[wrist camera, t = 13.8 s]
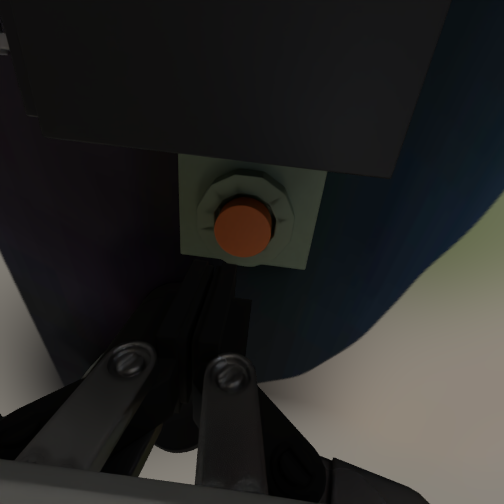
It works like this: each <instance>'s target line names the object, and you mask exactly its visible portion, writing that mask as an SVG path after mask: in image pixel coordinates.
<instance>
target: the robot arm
mask: <svg viewBox="0 0 504 504" xmlns="http://www.w3.org/2000/svg"><path fill="white" fill-rule="evenodd" d="M213 270H214V267H213V265H209V261H205V260H197V259H194V260H193V262H192V264H191V266H190V268H189V270H188V272H187V274H186V276H185V278H184V280H183V282H182V284H181V286H180V288H179V290H178V291H177V290H167V292H166V293H165V295H164V297H163V298H162V300H161V302H160V304H159V306H158V307H157V309H156V311H155V313H154V314H153V316H152V318H151V320H150V322H149V323H148V325H147V327H146V329H145V330H144V332H143V334H142V336H141V338H140V339H139V341H138V340H135V341H128V342H125V343H121V344H119V345H117V346H116V347H114V348H112V349H111V350H110V351H109V352H108V353H107V354H106V355H105V356H104V357H103V358H102V360H101V361H100V362H99V363H98V364H97V365H96V367H95V368H94V369H93V370H92V371H91V372H90V373H89V375H88V376H86V377H84V378H82V379H80V380H78V381H76V382H74V383H72V384H69V385H67V386H65V387H63V388H61V389H59V390H57V391H55V392H53V393H51V394H48V395H46V396H44V397H42V398H40V399H38V400H36V401H34V402H32V403H30V404H27V405H25V406H23V407H21V408H19V409H17V410H15V411H14V412H12V413H10V414H9V415H7V416H5V417H2V416H1V414H0V504H429V503H428V502H427V501H426V500H425V499H424V498H423V497H422V496H421V495H420V494H419V493H418V492H416V491H414V490H412V489H411V488H409V487H407V486H405V485H402V484H400V483H397V482H395V481H392V480H390V479H387V478H385V477H382V476H380V475H377V474H374V473H372V472H369V471H367V470H364V469H362V468H359V467H357V466H354V465H352V464H349V463H347V462H344V461H342V460H339V459H337V458H333V460H329V459H327V458H324V457H322V456H319V454H318V453H317V451H316V450H315V448H314V447H313V446H312V445H311V444H310V443H309V442H308V441H307V440H306V438H305V437H303V435H302V434H301V433H300V432H299V431H298V430H297V429H296V427H295V426H294V425H293V424H292V423H291V422H290V421H289V420H288V419H287V418H286V416H285V415H284V414H283V413H282V412H281V411H280V410H279V409H278V408H277V407H276V405H275V404H274V403H273V402H272V401H271V400H270V399H269V398H268V397H267V395H266V394H265V393H264V392H263V391H262V390H261V389H260V388H259V387H258V386H257V376H256V371H255V367H254V365H253V364H252V362H251V361H250V360H249V359H248V358H246V357H245V354H246V346H247V337H248V328H249V319H250V311H251V302H252V300H249V299H241V298H234V296H235V284H236V272H237V264H229V263H223V264H222V266H217V267H216V270H215V273H214V276H213ZM191 392H192V404H193V420H194V421H195V423H196V425H197V426H198V428H199V441H198V454H197V465H196V477H195V485H191V484H183V483H176V482H169V481H162V480H154V479H147V478H140V477H138V476H139V474H140V472H141V470H142V468H143V466H144V464H145V462H146V460H147V458H148V456H149V454H150V452H151V450H152V448H153V446H154V444H155V442H156V440H157V438H158V436H159V434H160V432H161V429H162V426H163V422H165V421H166V420H168V419H169V418H171V417H172V416H173V413H180V410H181V406H182V403H187V404H188V402H189V399H190V396H191Z"/></svg>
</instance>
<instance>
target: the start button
mask: <svg viewBox="0 0 504 504" xmlns="http://www.w3.org/2000/svg"><path fill="white" fill-rule="evenodd" d="M271 225H272V221H271V216H270V213H269V211H268V209H267V208H266V207H265V206H264V204H262V203H261V202H260V201H258V200H256V199H254V198H250V197H238V198H234V199H232V200H230V201H229V202H227V203H226V204H225V205H224V207H223V208H222V210H221V211H220V213H219V215H218V217H217V219H216V222H215V225H214V234H215V238H216V240H217V242H218V244H219V245H220V246H221V248H222V249H223V250H225V251H226V252H227V253H229V254H231V255H233V256H237V257H251V256H254V255H257V254H258V253H260V252H261V251H263V250H264V249H265V248H266V246H267V245H268V243H269V241H270V238H271Z"/></svg>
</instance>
